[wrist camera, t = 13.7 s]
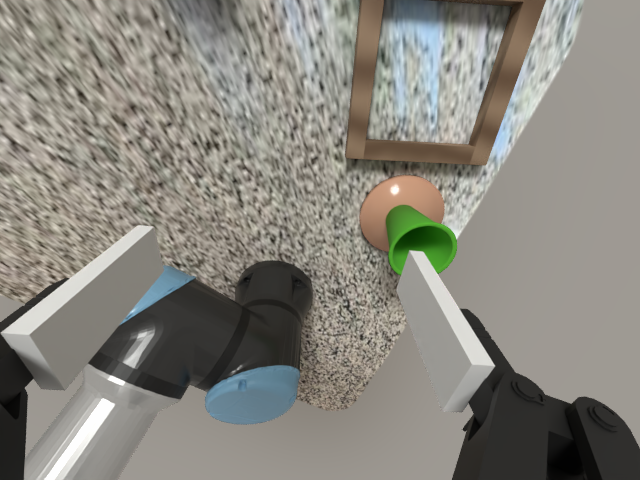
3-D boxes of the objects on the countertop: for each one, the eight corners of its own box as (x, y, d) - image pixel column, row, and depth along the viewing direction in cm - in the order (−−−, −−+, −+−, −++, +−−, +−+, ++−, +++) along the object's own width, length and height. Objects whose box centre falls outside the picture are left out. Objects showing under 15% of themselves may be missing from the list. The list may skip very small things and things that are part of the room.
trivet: (429, 250, 49) (431, 253, 48) (355, 247, 49) (355, 251, 48) (452, 176, 42) (455, 179, 41) (365, 172, 42) (366, 174, 41)
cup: (426, 237, 47) (454, 275, 37) (375, 244, 47) (389, 284, 38) (429, 188, 42) (461, 217, 33) (372, 197, 43) (387, 228, 33)
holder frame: (478, 162, 41) (485, 165, 40) (345, 155, 41) (346, 158, 39) (542, -21, 31) (555, -27, 29) (363, -34, 30) (366, -42, 28)
